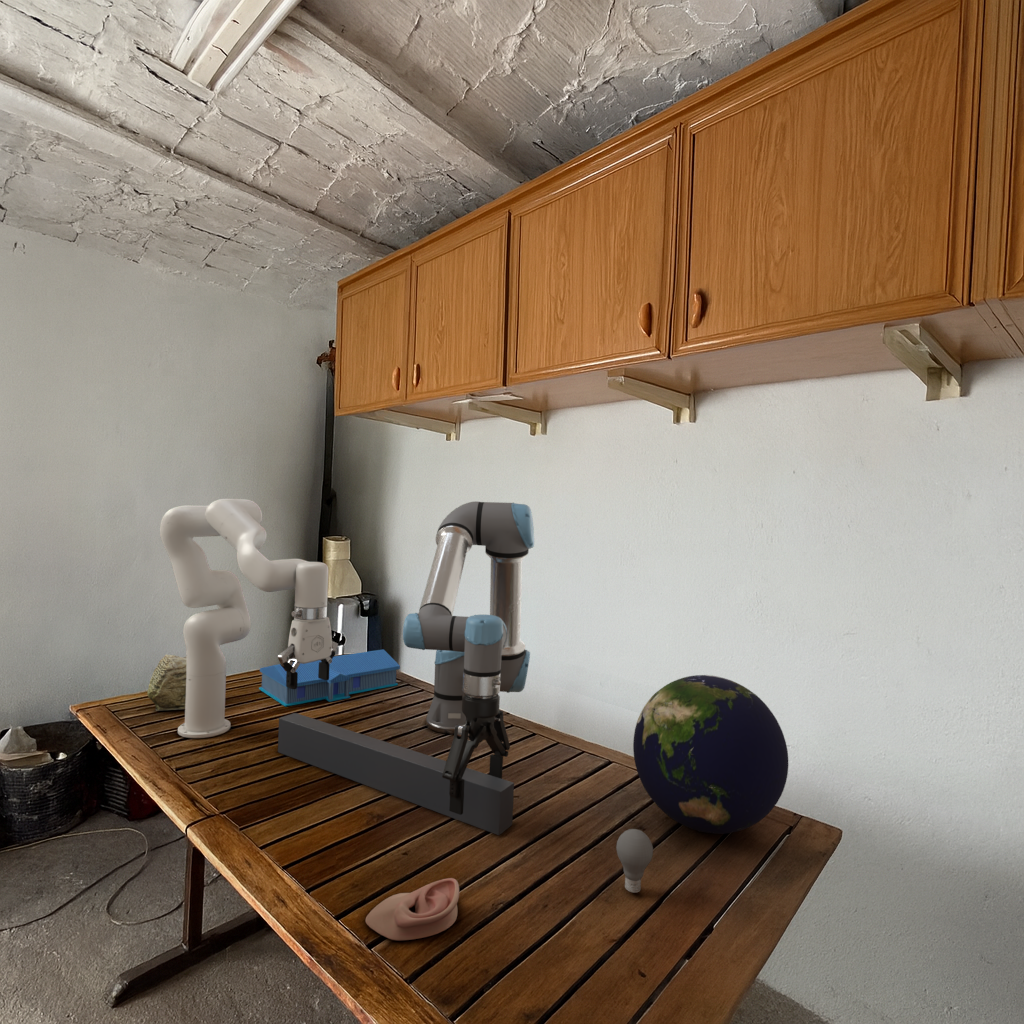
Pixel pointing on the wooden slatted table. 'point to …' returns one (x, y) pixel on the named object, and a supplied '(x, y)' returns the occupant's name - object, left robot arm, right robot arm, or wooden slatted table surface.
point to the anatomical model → (417, 911)
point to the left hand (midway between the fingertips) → (308, 683)
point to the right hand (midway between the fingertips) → (476, 799)
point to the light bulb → (634, 857)
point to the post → (396, 771)
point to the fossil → (169, 683)
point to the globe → (710, 754)
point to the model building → (332, 678)
